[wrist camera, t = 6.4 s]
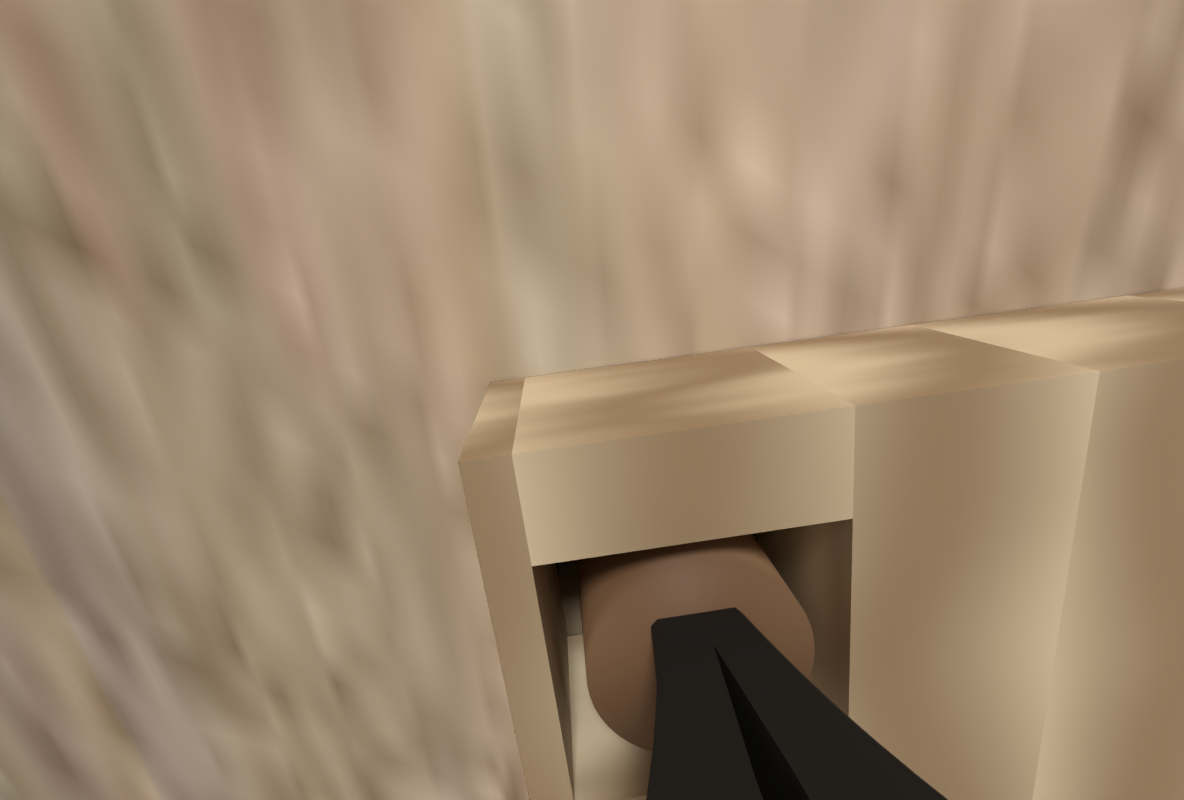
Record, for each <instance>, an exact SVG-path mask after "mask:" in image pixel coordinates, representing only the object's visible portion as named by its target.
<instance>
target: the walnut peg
mask: <svg viewBox="0 0 1184 800" xmlns="http://www.w3.org/2000/svg"><path fill="white" fill-rule="evenodd" d="M577 569H578V582H579V594H580V606H581V618H582V630H583V642H584V654H585V666H586V678H587V687H588V691H589V695H590V698H591V700H592V703H593V705H594V708H595V709H596V711H597V712H598V714H599V716H600V717H601V719H602V720H603V721H604V722H605V723H606V724H607V726H608V727H609V728H610V729H611V730H613V731H614V732H615V733H616V734H617V735H618V736H620V737H622V738H623V739H625V740H626V741H628V742H629V743H631V744H634V745H636V746H638V747H640V748H642V749H645V750H648V751H651V752H653V742H654V728H655V712H656V696H657V680H656V671H655V662H654V653H653V643H652V634H651V626H652V624H653V623H654V622H655V621H656V620H657V619H662V618H669V617H675V616H682V615H688V614H695V613H701V612H708V611H714V610H720V609H727V608H733V607H735V608H737V609H738V610H739V611H741V612H742V613H743V614H744V615H745V616H746V617H747V618H748V619H749V620H750V621H751V622H752V624H753V625H754V626H755V627H756V628H757V629H758V630H759V631H760V632H761V633H762V634H763V635H764V636H765V637H766V638H767V639H768V640H769V641H770V642H771V643H772V644H773V645H774V646H775V647H776V648H777V649H778V650H779V651H780V652H781V653H782V654H783V655H784V656H785V657H786V658H787V659H788V660H789V661H790V662H791V663H792V664H793V665H794V666H795V667H796V668H797V669H798V670H799V671H800V672H801V673H802V674H803V675H804V676H805V677H806V678H807V679H808V680H809V677H810V675H811V671H812V667H813V663H814V652H815V646H814V636H813V632H812V628H811V624H810V622H809V620H808V617H807V615H806V613H805V612H804V610H803V609H802V607H801V605H800V604H799V602H798V601H797V599H796V598H795V596H794V595H793V593H792V592H791V591H790V589H789V588H788V586H787V585H786V583H785V582H784V580H783V579H782V577H781V576H780V574H779V573H778V571H777V570H776V568H775V567H774V565H773V564H772V562H771V561H770V559H769V558H768V556H767V555H766V554H765V552H764V551H763V549H762V548H761V546H760V545H759V543H758V542H757V540H756V539H755V537H754V536H753V534H747V535H740V536H733V537H726V538H720V539H713V540H706V541H700V542H693V543H686V544H679V545H673V546H666V547H659V548H653V549H646V550H639V551H632V552H626V553H619V554H612V555H605V556H599V557H592V558H585V559H579V560H577Z"/></svg>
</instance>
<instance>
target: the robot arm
mask: <svg viewBox="0 0 1184 800" xmlns="http://www.w3.org/2000/svg"><path fill="white" fill-rule="evenodd" d="M651 634H652V643H653V653H654V662H655V671H656V680H657V696H656V712H655V728H654V742H653V752H652V760H651V767H650V775H649V783H648V790H647V798H646V800H948V799H947V798H945V797H944V796H943V795H942V794H940V793H939V792H938V791H937V790H935V789H934V788H933V787H932V786H930V785H929V784H928V783H927V782H925V781H924V780H923V779H922V778H920V777H919V776H918V775H917V774H915V773H914V772H913V771H912V770H911V769H909V768H908V767H907V766H906V765H905V764H903V763H902V762H901V761H900V760H899V759H897V758H896V757H895V756H894V755H893V754H891V753H890V752H889V751H888V750H887V749H885V748H884V747H883V746H882V745H881V744H879V743H878V742H877V741H876V740H875V739H874V738H873V737H871V736H870V735H869V734H868V733H867V732H866V731H864V730H863V729H862V728H861V727H860V726H859V725H858V724H856V723H855V722H854V721H853V720H852V719H851V718H850V717H849V716H848V715H846V714H845V713H844V712H843V711H842V710H841V709H840V708H839V707H838V706H837V705H836V704H834V703H833V702H832V701H831V700H830V699H829V698H828V697H827V696H826V695H825V694H824V693H822V692H821V691H820V690H819V689H818V688H817V687H816V686H815V685H814V684H813V683H812V682H811V681H810V680H808V679H807V678H806V677H805V676H804V675H803V674H802V673H801V672H800V671H799V670H798V669H797V668H796V667H795V666H794V665H793V664H792V663H791V662H790V661H789V660H788V659H787V658H786V657H785V656H784V655H783V654H782V653H781V652H780V651H779V650H778V649H777V648H776V647H775V646H774V645H773V644H772V643H771V642H770V641H769V640H768V639H767V638H766V637H765V636H764V635H763V634H762V633H761V632H760V631H759V630H758V629H757V628H756V627H755V626H754V625H753V624H752V622H751V621H750V620H749V619H748V618H747V617H746V616H745V615H744V614H743V613H742V612H741V611H739V610H738V609H737V608H735V607H733V608H727V609H720V610H714V611H708V612H701V613H695V614H688V615H682V616H675V617H669V618H662V619H657V620H656V621H655V622H654V623H653V624H652V626H651Z"/></svg>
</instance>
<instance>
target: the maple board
mask: <svg viewBox="0 0 1184 800" xmlns="http://www.w3.org/2000/svg"><path fill="white" fill-rule="evenodd" d="M458 464H459V469H460V474H461V479H462V483H463V488H464V493H465V498H466V502H467V507H468V512H469V517H470V521H471V526H472V531H473V535H474V540H475V545H476V550H477V554H478V559H479V564H480V569H481V573H482V578H483V583H484V588H485V592H486V597H487V602H488V606H489V611H490V616H491V621H492V625H493V630H494V635H495V640H496V644H497V649H498V654H499V658H500V663H501V668H502V673H503V677H504V682H505V687H506V692H507V696H508V701H509V706H510V711H511V715H512V720H513V725H514V729H515V734H516V739H517V744H518V748H519V753H520V758H521V763H522V767H523V772H524V777H525V782H526V786H527V791H528V796H529V800H646V798H647V790H648V783H649V775H650V767H651V760H652V752H651V751H648V750H645V749H642V748H640V747H638V746H636V745H634V744H631V743H629V742H628V741H626V740H625V739H623V738H622V737H620V736H618V735H617V734H616V733H615V732H614V731H613V730H611V729H610V728H609V727H608V726H607V724H606V723H605V722H604V721H603V720H602V719H601V717H600V716H599V714H598V712H597V711H596V709H595V708H594V705H593V703H592V700H591V698H590V695H589V691H588V687H587V678H586V666H585V654H584V642H583V634H581V635H574V636H568V637H567V632H566V626H565V619H564V613H563V607H562V601H561V595H560V589H559V583H558V577H557V571H556V564H555V563H558V562H565V561H572V560H579V559H585V558H592V557H599V556H605V555H612V554H619V553H626V552H632V551H639V550H646V549H653V548H659V547H666V546H673V545H679V544H686V543H693V542H700V541H706V540H713V539H720V538H726V537H733V536H740V535H747V534H753V533H757V538H758V543H759V545H760V546H761V548H762V549H763V551H764V552H765V554H766V555H767V556H768V558H769V559H770V561H771V562H772V564H773V565H774V567H775V568H776V570H777V571H778V573H779V574H780V576H781V577H782V579H783V580H784V582H785V583H786V585H787V586H788V588H789V589H790V591H791V592H792V593H793V595H794V596H795V598H796V599H797V601H798V602H799V604H800V605H801V607H802V609H803V610H804V612H805V613H806V615H807V617H808V620H809V622H810V624H811V628H812V632H813V636H814V646H815V652H814V663H813V667H812V671H811V675H810V677H809V680H810V681H811V682H812V683H813V684H814V685H815V686H816V687H817V688H818V689H819V690H820V691H821V692H822V693H824V694H825V695H826V696H827V697H828V698H829V699H830V700H831V701H832V702H833V703H834V704H836V705H837V706H838V707H839V708H840V709H841V710H842V711H843V712H844V713H845V714H846V715H848V716H849V717H850V718H851V719H852V720H853V721H854V722H855V723H856V724H858V725H859V726H860V727H861V728H862V729H863V730H864V731H866V732H867V733H868V734H869V735H870V736H871V737H873V738H874V739H875V740H876V741H877V742H878V743H879V744H881V745H882V746H883V747H884V748H885V749H887V750H888V751H889V752H890V753H891V754H893V755H894V756H895V757H896V758H897V759H899V760H900V761H901V762H902V763H903V764H905V765H906V766H907V767H908V768H909V769H911V770H912V771H913V772H914V773H915V774H917V775H918V776H919V777H920V778H922V779H923V780H924V781H925V782H927V783H928V784H929V785H930V786H932V787H933V788H934V789H935V790H937V791H938V792H939V793H940V794H942V795H943V796H944V797H945V798H947V799H948V800H1184V288H1178V289H1171V290H1164V291H1156V292H1149V293H1142V294H1134V295H1127V296H1120V297H1113V298H1105V299H1098V300H1091V301H1083V302H1076V303H1069V304H1061V305H1054V306H1047V307H1039V308H1032V309H1025V310H1018V311H1010V312H1003V313H996V314H988V315H981V316H974V317H966V318H959V319H952V320H944V321H937V322H930V323H922V324H915V325H908V326H901V327H893V328H886V329H879V330H871V331H864V332H857V333H849V334H842V335H835V336H827V337H820V338H813V339H806V340H798V341H791V342H784V343H776V344H769V345H762V346H754V347H747V348H740V349H732V350H725V351H718V352H711V353H703V354H696V355H689V356H681V357H674V358H667V359H659V360H652V361H645V362H637V363H630V364H623V365H616V366H608V367H601V368H594V369H586V370H579V371H572V372H564V373H557V374H550V375H542V376H535V377H528V378H520V379H513V380H506V381H499V382H491V383H490V384H489V386H488V389H487V391H486V394H485V396H484V399H483V401H482V404H481V406H480V409H479V411H478V414H477V416H476V419H475V421H474V424H473V426H472V429H471V431H470V434H469V436H468V438H467V441H466V443H465V446H464V448H463V451H462V453H461V456H460V458H459V461H458Z"/></svg>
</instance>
